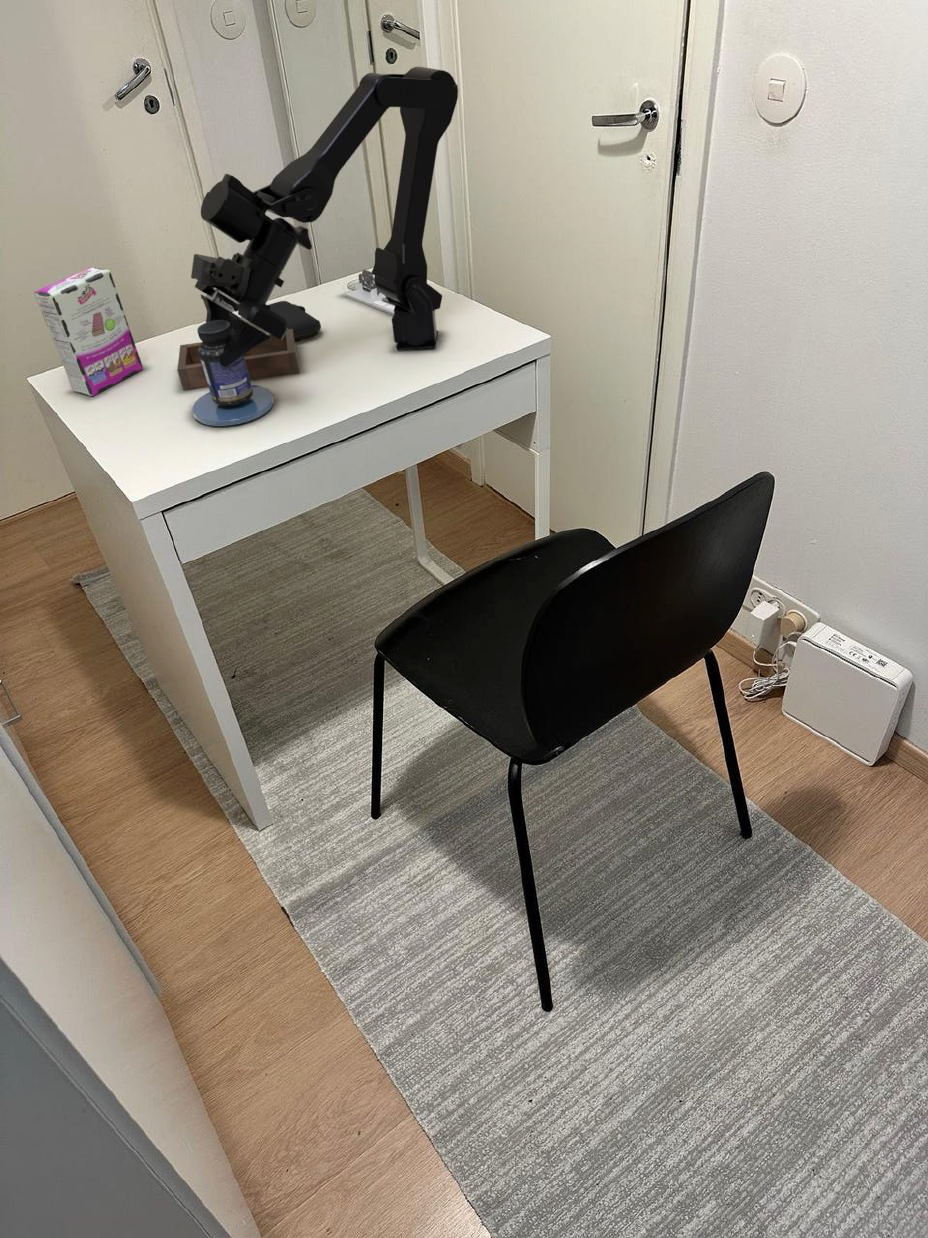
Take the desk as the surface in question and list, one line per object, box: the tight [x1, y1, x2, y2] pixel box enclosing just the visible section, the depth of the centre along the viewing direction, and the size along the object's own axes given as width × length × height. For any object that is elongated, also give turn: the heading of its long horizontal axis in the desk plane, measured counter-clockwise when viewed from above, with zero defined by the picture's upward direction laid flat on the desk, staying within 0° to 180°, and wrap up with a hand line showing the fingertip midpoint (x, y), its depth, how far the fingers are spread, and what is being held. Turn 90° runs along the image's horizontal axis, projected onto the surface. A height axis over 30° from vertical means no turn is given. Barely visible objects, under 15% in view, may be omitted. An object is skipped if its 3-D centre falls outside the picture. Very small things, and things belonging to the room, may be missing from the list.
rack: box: [176, 329, 301, 391], centre depth 145 cm, size 18×10×4 cm, turn 101°
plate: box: [192, 384, 275, 427], centre depth 135 cm, size 12×12×1 cm
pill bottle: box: [196, 320, 253, 406], centre depth 131 cm, size 6×6×11 cm
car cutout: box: [344, 269, 395, 316], centre depth 163 cm, size 15×7×4 cm, turn 42°
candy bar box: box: [33, 266, 144, 397], centre depth 141 cm, size 11×5×16 cm, turn 148°
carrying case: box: [267, 300, 322, 344], centre depth 156 cm, size 11×3×15 cm
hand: (213, 358), depth 129 cm, fingers closed on pill bottle, 6 cm apart
